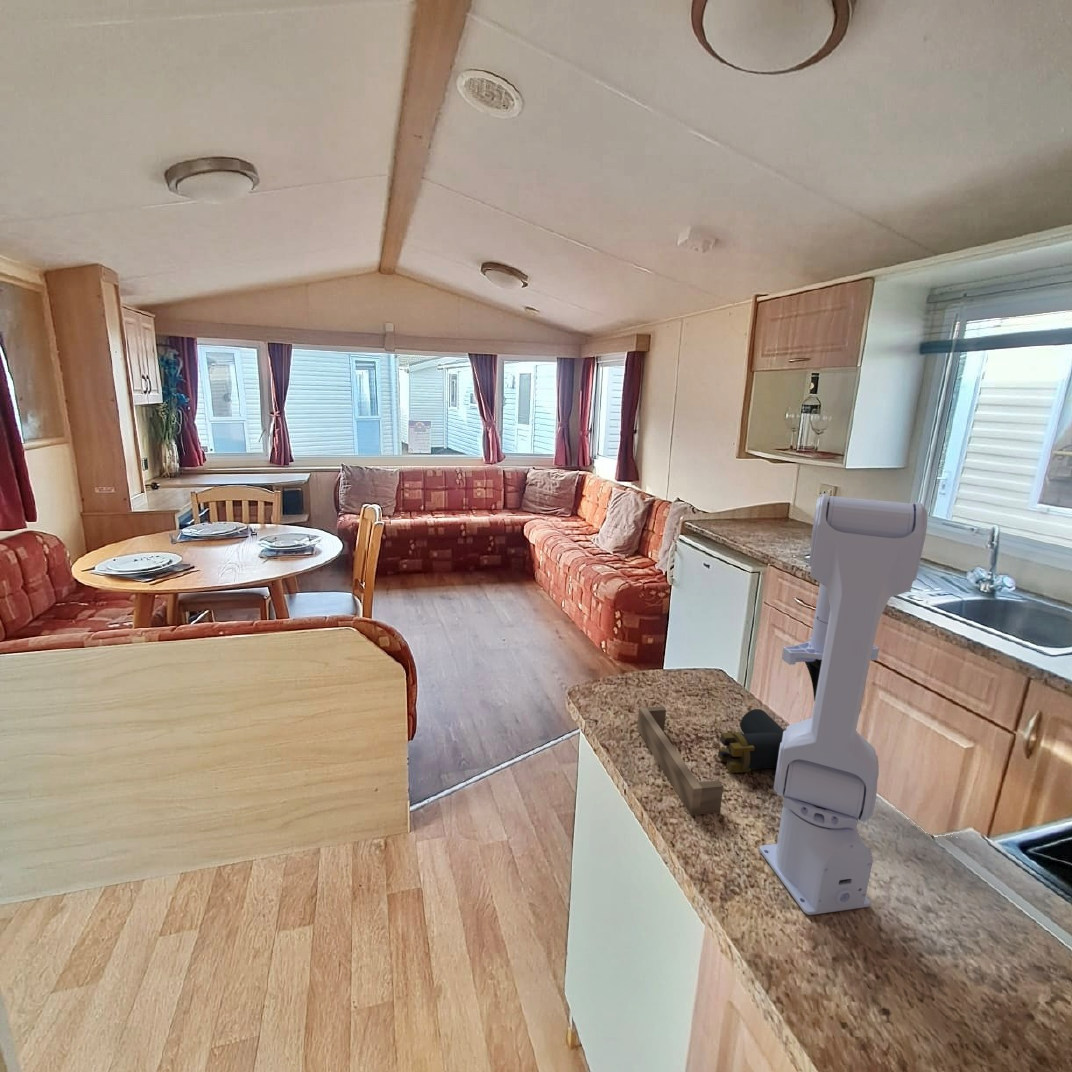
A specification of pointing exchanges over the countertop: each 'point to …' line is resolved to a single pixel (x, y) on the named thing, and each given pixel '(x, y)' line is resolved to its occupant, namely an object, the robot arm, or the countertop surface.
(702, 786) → the stop rail
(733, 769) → the pipe connector
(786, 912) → the countertop surface
